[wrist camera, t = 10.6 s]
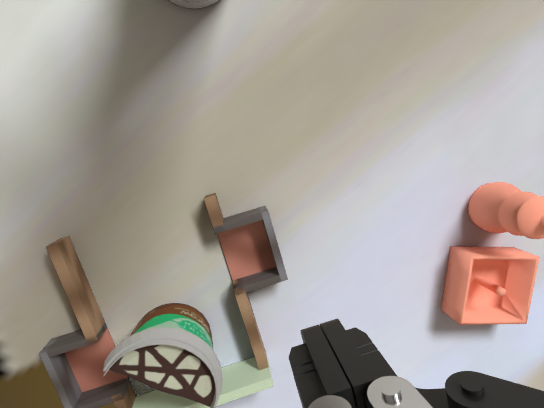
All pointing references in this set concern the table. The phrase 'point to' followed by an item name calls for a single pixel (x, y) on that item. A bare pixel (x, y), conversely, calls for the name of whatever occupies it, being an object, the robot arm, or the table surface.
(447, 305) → the pottery
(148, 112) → the table surface
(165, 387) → the food container
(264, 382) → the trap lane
